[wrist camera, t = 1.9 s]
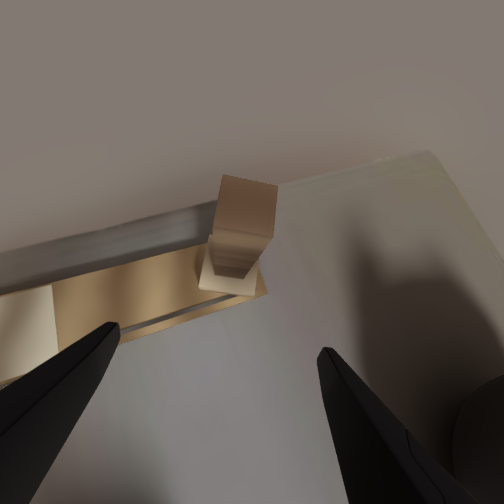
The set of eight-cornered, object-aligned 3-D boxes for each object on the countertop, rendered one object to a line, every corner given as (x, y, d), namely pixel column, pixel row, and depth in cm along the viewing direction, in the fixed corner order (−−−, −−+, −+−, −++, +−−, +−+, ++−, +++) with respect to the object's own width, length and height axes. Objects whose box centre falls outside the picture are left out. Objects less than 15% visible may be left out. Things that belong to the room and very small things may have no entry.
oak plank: (245, 236, 24) (246, 232, 23) (265, 294, 22) (267, 293, 21) (-40, 310, 18) (-60, 310, 16) (-40, 398, 16) (-61, 405, 15)
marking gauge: (250, 297, 21) (298, 267, 9) (200, 290, 20) (175, 247, 8) (257, 242, 23) (304, 154, 10) (211, 234, 22) (205, 131, 10)
